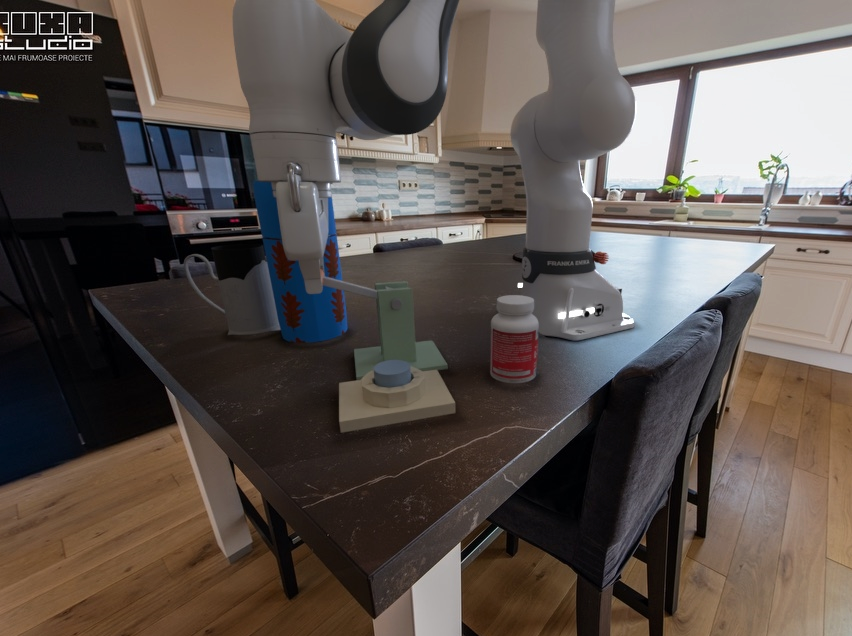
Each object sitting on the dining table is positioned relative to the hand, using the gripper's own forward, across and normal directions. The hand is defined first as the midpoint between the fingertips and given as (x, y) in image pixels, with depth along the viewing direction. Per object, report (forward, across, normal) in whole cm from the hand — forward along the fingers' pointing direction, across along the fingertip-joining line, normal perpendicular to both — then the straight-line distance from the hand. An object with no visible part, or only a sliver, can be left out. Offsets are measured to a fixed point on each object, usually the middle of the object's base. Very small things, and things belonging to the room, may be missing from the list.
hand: (316, 285), depth 50 cm
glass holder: (+13, +24, +16) cm, 31 cm away
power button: (+9, -12, -7) cm, 17 cm away
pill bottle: (+13, -9, -24) cm, 28 cm away
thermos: (+13, +17, +2) cm, 21 cm away
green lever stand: (+12, 0, -10) cm, 16 cm away
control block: (+12, -12, -8) cm, 19 cm away
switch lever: (+2, 0, -5) cm, 5 cm away
